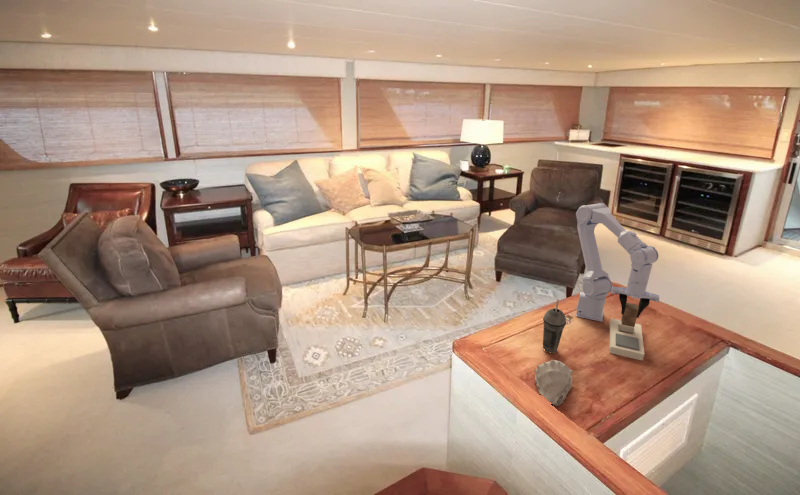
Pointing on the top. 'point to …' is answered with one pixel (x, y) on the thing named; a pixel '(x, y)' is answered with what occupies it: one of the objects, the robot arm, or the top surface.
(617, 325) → the pocket board
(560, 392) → the seashell
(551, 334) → the beverage cup
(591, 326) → the top surface
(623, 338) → the slate mat
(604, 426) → the top surface
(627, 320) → the walnut block
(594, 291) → the robot arm
